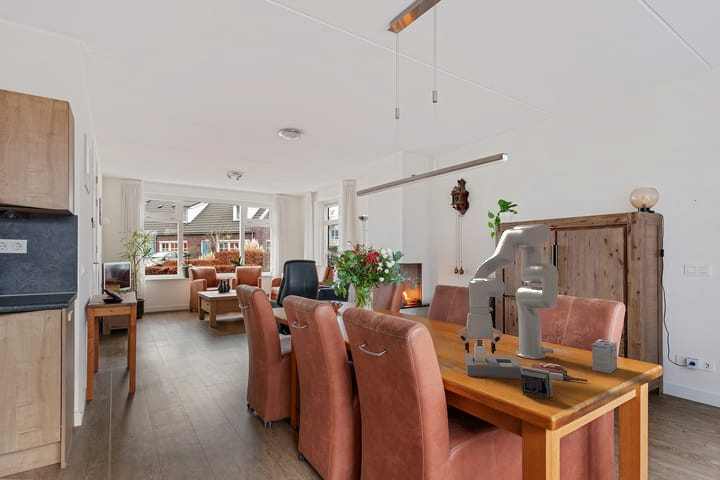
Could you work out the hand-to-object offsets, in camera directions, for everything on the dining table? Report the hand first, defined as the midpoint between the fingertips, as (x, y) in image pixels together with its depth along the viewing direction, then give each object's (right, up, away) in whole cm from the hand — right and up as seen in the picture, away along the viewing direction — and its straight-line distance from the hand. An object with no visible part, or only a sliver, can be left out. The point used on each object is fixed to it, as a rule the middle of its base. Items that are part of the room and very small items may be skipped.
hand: (480, 352), depth 153 cm
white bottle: (0, -7, 0) cm, 7 cm away
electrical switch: (+10, -6, -28) cm, 30 cm away
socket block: (+4, -7, -1) cm, 8 cm away
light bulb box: (+51, -7, 0) cm, 51 cm away
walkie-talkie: (+27, -7, -9) cm, 29 cm away
